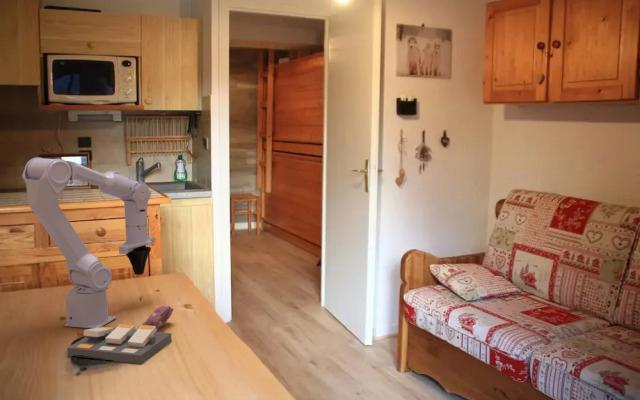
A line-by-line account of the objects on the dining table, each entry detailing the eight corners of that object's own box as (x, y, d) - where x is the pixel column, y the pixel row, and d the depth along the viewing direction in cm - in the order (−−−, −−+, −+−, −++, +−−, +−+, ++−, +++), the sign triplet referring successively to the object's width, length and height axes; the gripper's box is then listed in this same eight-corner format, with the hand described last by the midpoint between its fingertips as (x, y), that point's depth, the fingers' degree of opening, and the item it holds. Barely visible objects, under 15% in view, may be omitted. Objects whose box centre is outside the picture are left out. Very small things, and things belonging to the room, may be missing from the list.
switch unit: (67, 356, 125) (66, 341, 125) (103, 334, 138) (102, 320, 137) (141, 364, 121) (140, 348, 120) (171, 341, 133) (170, 327, 133)
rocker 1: (83, 335, 128) (84, 329, 128) (100, 332, 133) (100, 326, 133) (97, 337, 127) (98, 331, 127) (113, 333, 132) (114, 327, 133)
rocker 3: (128, 346, 125) (127, 341, 125) (142, 329, 131) (141, 324, 130) (143, 347, 125) (142, 342, 124) (156, 330, 130) (155, 325, 129)
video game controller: (150, 343, 136) (161, 319, 135) (134, 334, 137) (145, 309, 135) (168, 328, 146) (179, 305, 145) (153, 319, 146) (163, 297, 145)
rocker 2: (106, 342, 127) (105, 337, 126) (121, 328, 132) (120, 323, 132) (120, 344, 126) (119, 338, 125) (135, 329, 131) (134, 325, 131)
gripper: (134, 230, 147) (137, 282, 149) (163, 221, 161) (165, 268, 163) (110, 229, 148) (113, 280, 150) (141, 220, 162) (143, 266, 164)
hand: (139, 274), depth 157 cm, fingers closed
